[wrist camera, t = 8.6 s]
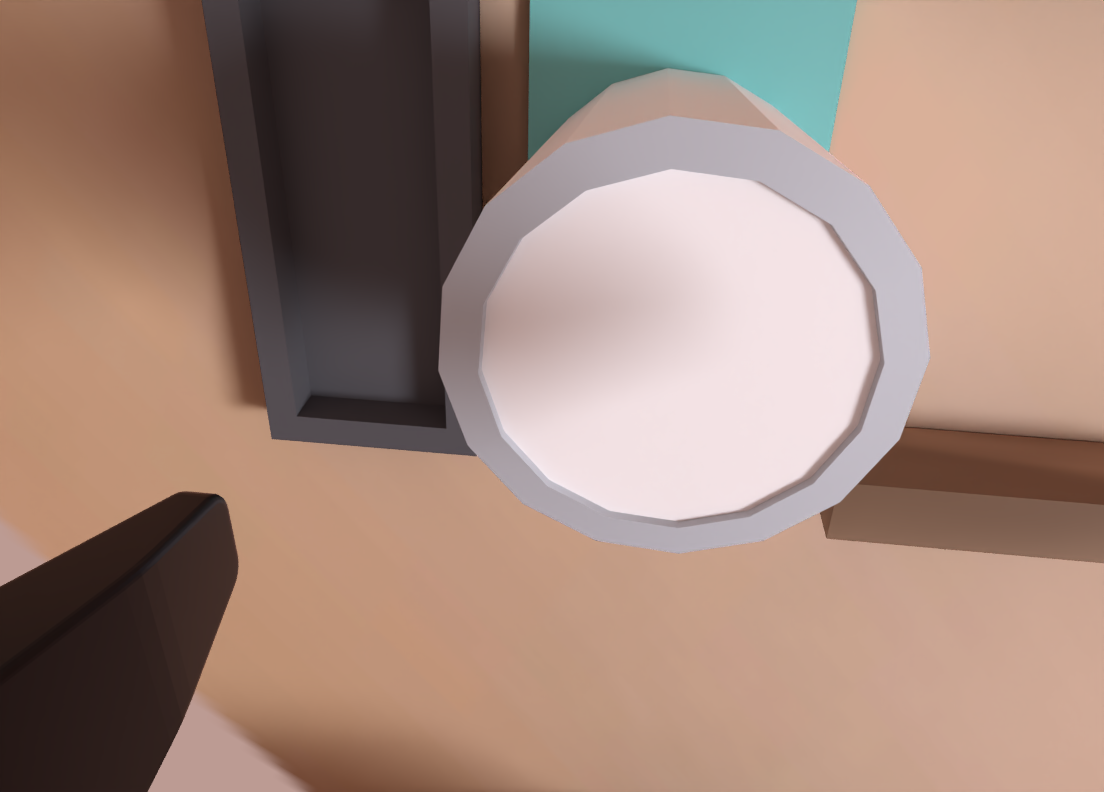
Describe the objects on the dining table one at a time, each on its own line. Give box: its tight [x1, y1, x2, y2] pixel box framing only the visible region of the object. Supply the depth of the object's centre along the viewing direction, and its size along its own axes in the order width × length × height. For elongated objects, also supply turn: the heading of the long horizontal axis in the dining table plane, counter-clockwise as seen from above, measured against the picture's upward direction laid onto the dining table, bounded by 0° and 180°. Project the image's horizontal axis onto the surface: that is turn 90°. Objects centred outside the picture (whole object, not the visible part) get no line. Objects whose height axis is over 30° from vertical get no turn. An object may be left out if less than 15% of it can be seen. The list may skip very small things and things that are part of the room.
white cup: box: [438, 68, 930, 554], centre depth 15 cm, size 7×7×7 cm
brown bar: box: [820, 427, 1104, 563], centre depth 17 cm, size 13×8×2 cm, turn 179°
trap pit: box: [202, 0, 482, 456], centre depth 18 cm, size 12×5×1 cm, turn 179°
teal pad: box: [528, 0, 857, 160], centre depth 18 cm, size 12×6×1 cm, turn 179°
